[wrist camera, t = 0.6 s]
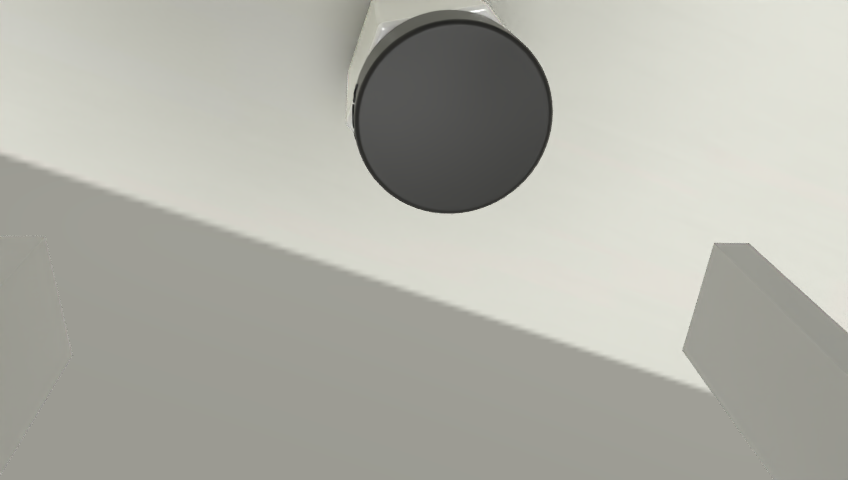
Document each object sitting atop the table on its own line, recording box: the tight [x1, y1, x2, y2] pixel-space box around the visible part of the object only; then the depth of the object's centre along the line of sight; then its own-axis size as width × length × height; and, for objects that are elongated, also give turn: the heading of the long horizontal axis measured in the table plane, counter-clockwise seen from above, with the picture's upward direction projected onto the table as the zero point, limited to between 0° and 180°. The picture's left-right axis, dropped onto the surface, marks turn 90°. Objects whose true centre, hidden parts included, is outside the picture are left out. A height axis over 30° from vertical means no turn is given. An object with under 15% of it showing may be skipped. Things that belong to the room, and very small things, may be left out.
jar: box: [346, 0, 553, 213], centre depth 32 cm, size 9×8×12 cm
